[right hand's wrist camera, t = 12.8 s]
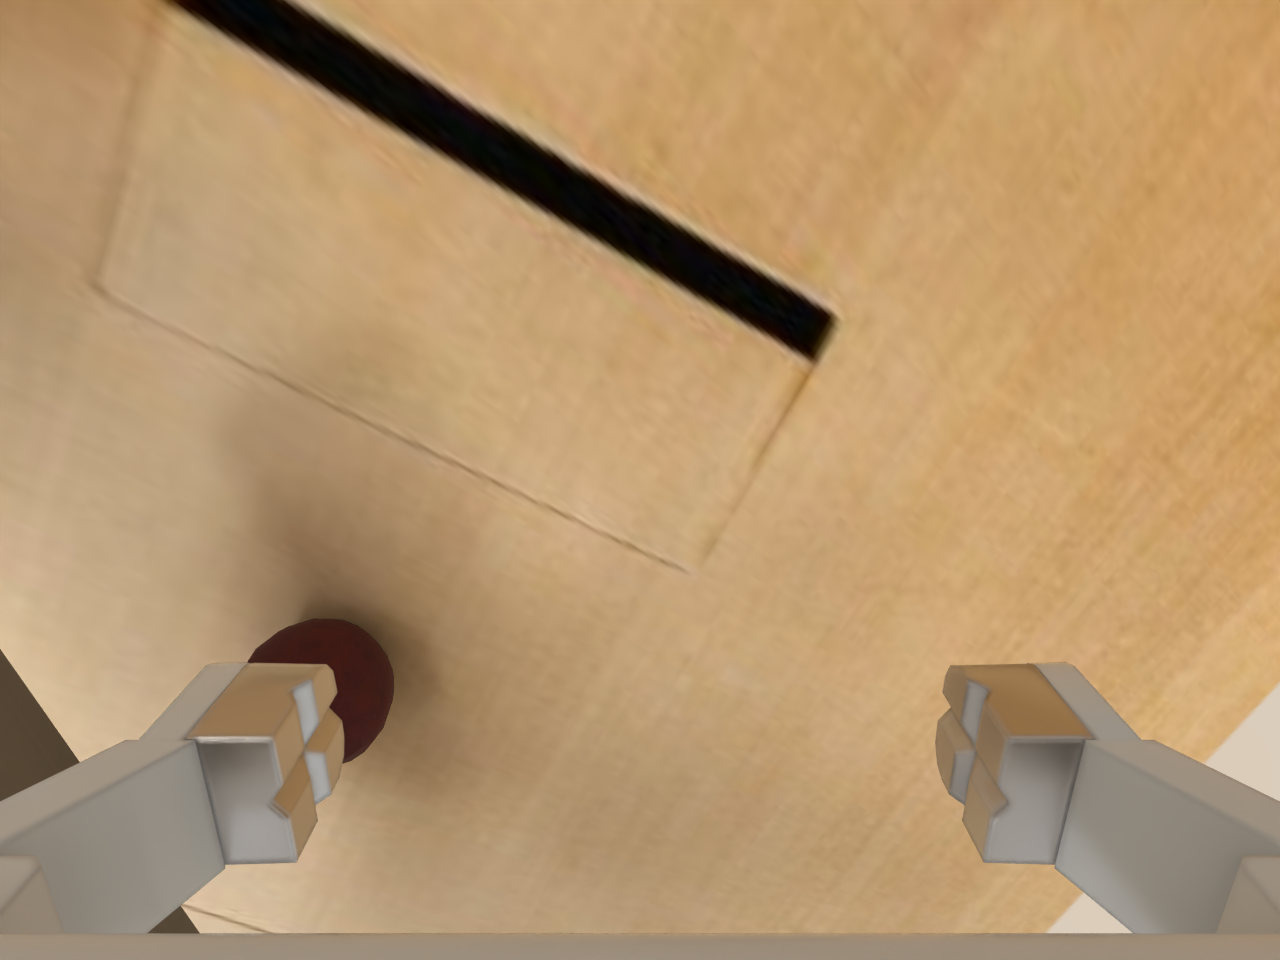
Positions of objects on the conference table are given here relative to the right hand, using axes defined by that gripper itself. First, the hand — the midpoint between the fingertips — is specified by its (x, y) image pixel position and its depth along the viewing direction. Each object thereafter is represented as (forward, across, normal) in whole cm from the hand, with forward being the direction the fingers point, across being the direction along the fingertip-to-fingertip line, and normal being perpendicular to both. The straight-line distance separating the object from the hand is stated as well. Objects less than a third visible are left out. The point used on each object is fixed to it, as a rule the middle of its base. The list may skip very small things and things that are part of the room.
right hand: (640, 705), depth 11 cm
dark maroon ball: (+29, -17, -18) cm, 38 cm away
